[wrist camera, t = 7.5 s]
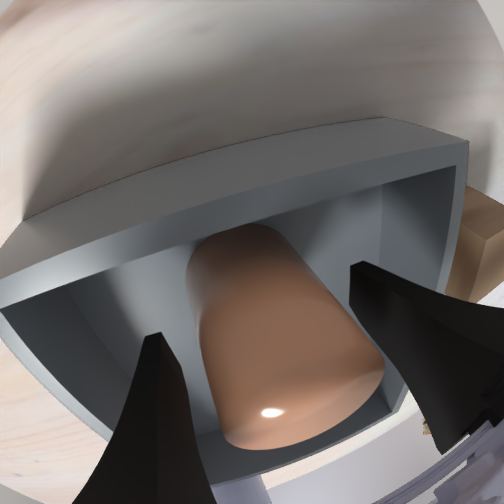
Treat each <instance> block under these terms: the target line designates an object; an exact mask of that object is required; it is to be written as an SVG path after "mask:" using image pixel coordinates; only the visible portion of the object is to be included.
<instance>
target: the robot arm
mask: <svg viewBox="0 0 504 504" xmlns="http://www.w3.org/2000/svg"><path fill="white" fill-rule="evenodd" d="M349 306H350V308H351V309H352V311H353V313H354V314H355V316H356V318H357V319H358V321H359V322H360V324H361V325H362V327H363V328H364V329H365V330H366V331H367V333H368V334H369V335H370V336H371V338H372V339H373V340H374V341H375V342H376V344H377V345H378V346H379V347H380V349H381V350H382V351H383V352H384V353H385V355H386V356H387V357H388V358H389V360H390V361H391V362H392V363H393V365H394V366H395V367H396V369H397V370H398V372H399V373H400V375H401V376H402V378H403V380H404V381H405V383H406V385H407V386H408V388H409V390H410V391H411V393H412V395H413V397H414V399H415V400H416V402H417V404H418V406H419V408H420V410H421V412H422V414H423V416H424V418H425V420H426V422H427V425H428V427H429V429H430V432H431V434H432V437H433V439H434V442H435V445H436V448H437V449H438V451H439V452H440V453H441V454H442V455H443V454H444V453H446V452H447V451H448V450H449V449H451V448H452V447H453V446H454V445H456V444H457V443H458V442H459V441H461V440H462V439H463V438H464V437H465V436H466V435H468V434H469V435H470V437H468V438H467V439H466V440H465V441H464V442H463V443H461V444H460V445H459V446H458V447H457V448H455V449H454V450H453V451H452V452H451V453H449V454H448V455H447V456H445V457H444V458H443V459H441V460H440V461H439V462H437V463H436V464H435V465H434V466H432V467H430V468H429V469H428V470H426V471H425V472H423V473H422V474H420V475H419V476H417V477H416V478H414V479H413V480H411V481H410V482H408V483H407V484H405V485H403V486H402V487H400V488H399V489H397V490H395V491H394V492H392V493H390V494H389V495H387V496H385V497H383V498H382V499H380V500H378V501H376V502H374V503H372V504H406V503H407V502H409V501H411V500H412V499H414V498H415V497H417V496H418V495H420V494H421V493H423V492H424V491H426V490H427V489H429V488H430V487H431V486H433V485H434V484H436V483H437V482H438V481H440V480H441V479H442V478H444V477H445V476H446V475H448V474H449V473H450V472H451V471H453V470H454V469H455V468H456V467H457V466H459V465H460V464H461V463H462V462H464V461H465V460H466V459H467V465H466V466H465V467H464V468H462V469H461V470H460V471H458V472H457V473H455V474H454V475H453V476H451V477H450V478H449V479H447V480H446V481H445V482H444V483H443V484H441V485H440V486H439V487H438V488H436V489H435V490H434V492H433V493H434V494H435V496H436V497H437V498H436V499H434V500H433V501H431V502H430V503H428V504H504V308H498V307H491V306H486V305H481V304H476V303H472V302H468V301H464V300H460V299H457V298H454V297H450V296H447V295H444V294H441V293H438V292H436V291H433V290H431V289H428V288H425V287H423V286H421V285H418V284H416V283H413V282H411V281H409V280H407V279H404V278H402V277H400V276H398V275H395V274H393V273H391V272H389V271H387V270H384V269H382V268H380V267H378V266H376V265H373V264H371V263H369V262H366V261H364V260H363V261H360V262H358V263H355V264H353V265H350V285H349ZM72 504H272V502H271V500H270V498H269V495H268V493H267V490H266V488H265V485H264V483H263V480H262V478H261V475H257V476H254V477H251V478H247V479H244V480H240V481H237V482H233V483H229V484H225V485H221V486H217V487H213V488H211V487H210V484H209V481H208V479H207V476H206V473H205V470H204V467H203V464H202V461H201V458H200V455H199V451H198V447H197V443H196V438H195V432H194V426H193V421H192V415H191V408H190V402H189V396H188V390H187V386H186V382H185V379H184V375H183V371H182V367H181V365H180V363H179V362H178V360H177V358H176V356H175V355H174V353H173V351H172V350H171V348H170V346H169V344H168V343H167V341H166V339H165V337H164V336H163V334H162V332H157V333H154V334H151V335H147V336H145V338H144V340H143V344H142V347H141V351H140V355H139V359H138V362H137V366H136V369H135V373H134V376H133V379H132V383H131V386H130V389H129V392H128V395H127V398H126V401H125V404H124V407H123V410H122V412H121V415H120V418H119V420H118V423H117V425H116V428H115V430H114V432H113V435H112V437H111V439H110V441H109V443H108V445H107V447H106V449H105V451H104V453H103V455H102V457H101V459H100V461H99V463H98V465H97V466H96V468H95V470H94V471H93V473H92V475H91V476H90V478H89V480H88V481H87V483H86V484H85V486H84V487H83V489H82V490H81V492H80V493H79V494H78V496H77V497H76V498H75V500H74V501H73V503H72Z"/></svg>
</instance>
